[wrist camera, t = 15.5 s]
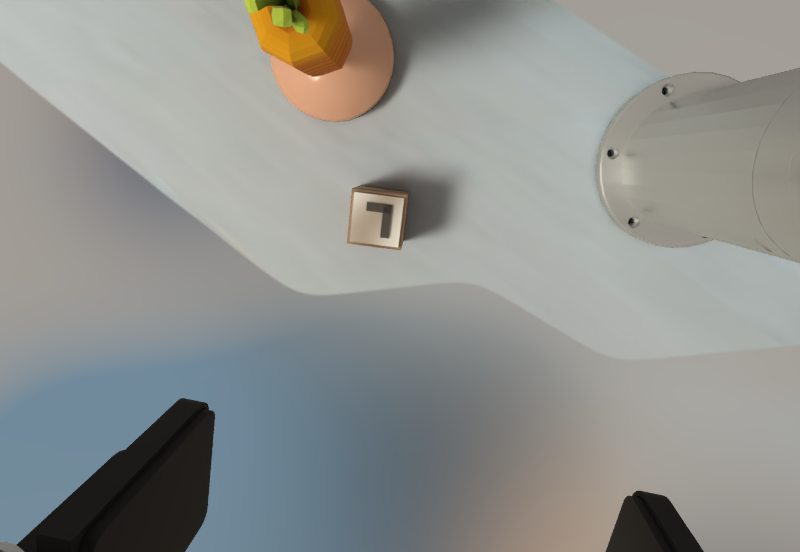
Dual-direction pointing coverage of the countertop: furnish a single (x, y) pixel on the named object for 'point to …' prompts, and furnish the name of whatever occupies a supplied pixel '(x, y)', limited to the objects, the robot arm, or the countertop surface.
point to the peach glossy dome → (345, 71)
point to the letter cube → (377, 217)
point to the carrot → (303, 33)
